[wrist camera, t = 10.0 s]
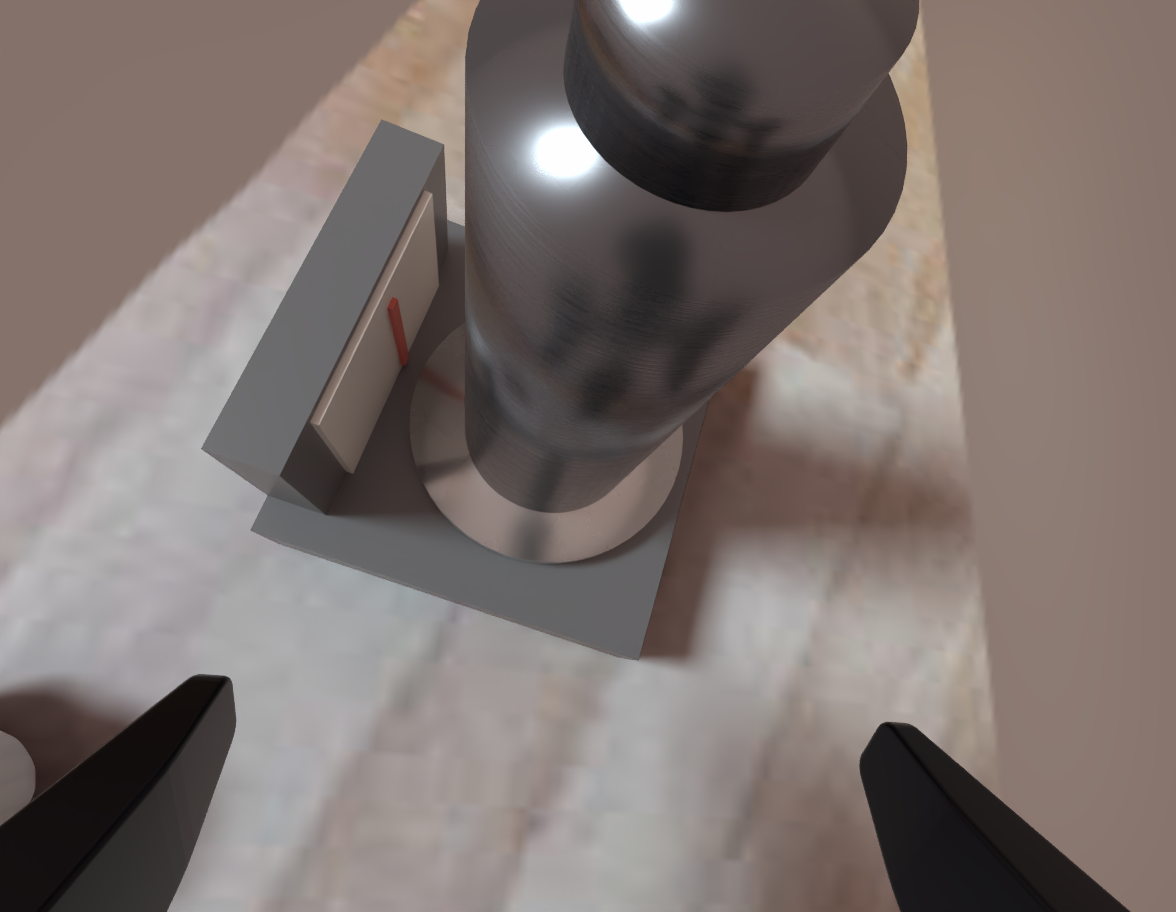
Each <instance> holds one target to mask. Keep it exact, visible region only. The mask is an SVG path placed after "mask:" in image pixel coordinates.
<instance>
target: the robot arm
mask: <svg viewBox="0 0 1176 912" xmlns="http://www.w3.org/2000/svg"><path fill="white" fill-rule="evenodd" d="M235 728H236V712H235V703H234V693H233V685H232V681H231V679H230V678H229V677H227V676H220V675H206V674H198V675H194V676H192V677H190V678H189V679H187V680H186V681H184V682H183V683H182V684H181V685H179V686H178V687H177V688H176V689H174V690H173V691H172V692H170V693H169V694H168V695H167V696H165V697H164V698H163V699H161V700H160V701H159V702H158V703H156V704H155V705H154V706H152V707H151V708H150V709H149V710H147V711H146V712H145V713H143V714H142V715H141V716H140V717H138V718H137V719H136V720H135V721H133V722H132V723H131V724H129V725H128V726H127V727H126V728H124V729H123V730H122V731H120V732H119V733H118V734H117V735H115V736H114V737H113V738H111V739H110V740H109V741H108V742H106V743H105V744H104V745H102V746H101V747H100V748H99V749H97V750H96V751H95V752H94V753H92V754H91V755H90V756H88V757H87V758H86V759H85V760H83V761H82V762H81V763H79V764H78V765H77V766H76V767H74V768H73V769H72V770H70V771H69V772H68V773H67V774H65V775H64V776H63V777H61V778H60V779H59V780H58V781H56V782H55V783H54V784H53V785H51V786H50V787H49V788H47V789H46V790H45V791H44V792H42V793H41V794H40V795H38V796H37V797H36V798H35V799H33V800H32V801H31V802H29V803H28V804H27V805H26V806H24V807H23V808H22V809H20V810H19V811H18V812H17V813H15V814H14V815H13V816H12V817H10V818H9V819H8V820H6V821H5V822H4V823H3V824H1V825H0V912H167V910H168V908H169V906H170V904H171V902H172V900H173V897H174V895H175V893H176V891H177V889H178V887H179V884H180V882H181V880H182V878H183V875H184V873H185V871H186V868H187V866H188V863H189V861H190V858H191V855H192V853H193V850H194V847H195V845H196V842H197V839H198V836H199V833H200V830H201V828H202V825H203V822H204V819H205V816H206V813H207V811H208V808H209V805H210V802H211V799H212V796H213V794H214V791H215V788H216V785H217V782H218V780H219V777H220V774H221V771H222V768H223V765H224V763H225V760H226V757H227V754H228V751H229V748H230V746H231V743H232V740H233V737H234V733H235ZM859 767H860V775H861V779H862V782H863V786H864V790H865V793H866V797H867V801H868V804H869V808H870V812H871V815H872V819H873V823H874V826H875V830H876V834H877V837H878V841H879V845H880V848H881V852H882V856H883V859H884V863H885V866H886V870H887V873H888V876H889V880H890V883H891V886H892V889H893V892H894V895H895V898H896V901H897V904H898V906H899V909H900V912H1130V911H1129V910H1128V909H1126V907H1124V906H1123V905H1122V904H1121V903H1120V902H1119V901H1117V900H1116V899H1115V898H1114V897H1112V896H1111V895H1110V894H1109V893H1108V892H1107V891H1106V890H1105V889H1103V888H1102V887H1101V886H1100V885H1099V884H1098V883H1096V882H1095V881H1094V880H1093V879H1092V878H1091V877H1089V876H1088V875H1087V874H1086V873H1085V872H1084V871H1082V870H1081V869H1080V868H1079V867H1078V866H1077V865H1075V864H1074V863H1073V862H1072V861H1070V859H1068V858H1067V857H1066V856H1065V855H1064V854H1062V853H1061V852H1060V851H1059V850H1058V849H1057V848H1056V847H1055V846H1053V845H1052V844H1051V843H1050V842H1049V841H1048V840H1046V839H1045V838H1044V837H1043V836H1042V835H1041V834H1039V833H1038V832H1037V831H1036V830H1035V829H1034V828H1032V827H1031V826H1030V825H1029V824H1028V823H1026V822H1025V821H1024V820H1023V819H1022V818H1021V817H1020V816H1018V815H1017V814H1016V813H1015V812H1014V811H1013V810H1011V809H1010V808H1009V807H1008V806H1007V805H1005V804H1004V803H1003V802H1002V801H1001V800H1000V799H999V798H997V797H996V796H995V795H994V794H993V793H992V792H990V791H989V790H988V789H987V788H986V787H985V786H983V785H982V784H981V783H980V782H979V781H978V780H976V779H975V778H974V777H973V776H972V775H971V774H969V773H968V772H967V771H966V770H965V769H964V768H962V767H961V766H960V765H959V764H958V763H957V762H955V761H954V760H953V759H952V758H951V757H950V756H949V755H947V754H946V753H945V752H944V751H943V750H942V749H940V748H939V747H938V746H937V745H936V744H935V743H933V742H932V741H931V740H930V739H929V738H928V737H926V736H925V735H924V734H923V733H922V732H921V731H919V730H918V729H917V728H916V727H914V726H913V725H910V724H907V723H897V722H884V723H882V724H881V725H880V726H879V727H878V728H877V730H876V732H875V733H874V735H873V736H872V738H871V740H870V741H869V743H868V745H867V746H866V748H865V750H864V751H863V753H862V755H861V758H860V765H859Z"/></svg>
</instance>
